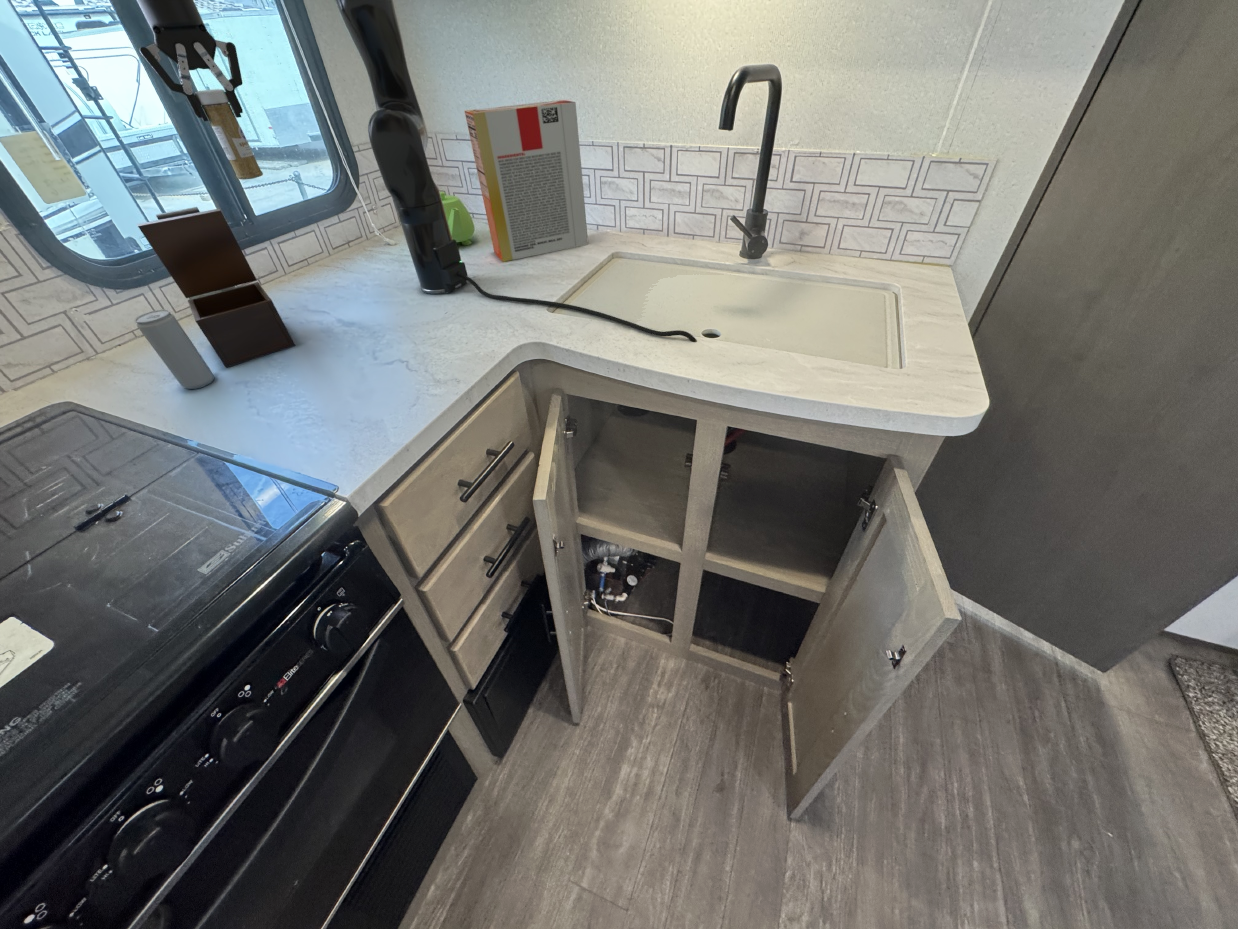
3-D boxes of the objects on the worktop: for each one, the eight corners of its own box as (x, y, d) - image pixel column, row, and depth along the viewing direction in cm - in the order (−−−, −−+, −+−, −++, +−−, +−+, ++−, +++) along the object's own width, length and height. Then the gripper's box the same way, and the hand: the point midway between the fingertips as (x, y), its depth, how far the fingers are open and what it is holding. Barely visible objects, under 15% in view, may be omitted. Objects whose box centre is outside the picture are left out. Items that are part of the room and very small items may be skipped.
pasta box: (576, 236, 134) (562, 99, 115) (588, 244, 129) (575, 101, 109) (494, 252, 127) (464, 110, 108) (502, 261, 122) (472, 113, 102)
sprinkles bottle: (264, 176, 94) (223, 88, 86) (237, 181, 93) (193, 91, 84) (263, 173, 97) (223, 88, 89) (237, 177, 96) (193, 90, 87)
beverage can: (193, 376, 86) (146, 310, 78) (221, 374, 86) (177, 307, 78) (177, 391, 82) (125, 323, 74) (206, 389, 82) (158, 321, 74)
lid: (221, 210, 83) (211, 195, 86) (137, 226, 78) (129, 209, 80) (257, 280, 94) (247, 265, 96) (186, 298, 89) (177, 282, 91)
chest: (295, 345, 93) (271, 299, 87) (225, 367, 88) (195, 320, 82) (280, 324, 100) (257, 281, 95) (215, 344, 95) (187, 299, 89)
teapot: (489, 246, 132) (477, 194, 123) (439, 258, 127) (424, 204, 118) (463, 230, 145) (451, 181, 137) (418, 240, 140) (403, 190, 131)
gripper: (102, -15, 72) (177, 126, 83) (214, -16, 79) (270, 114, 90) (103, -9, 77) (174, 123, 88) (208, -11, 83) (262, 112, 94)
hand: (222, 118), depth 89 cm, fingers closed on sprinkles bottle, 4 cm apart
